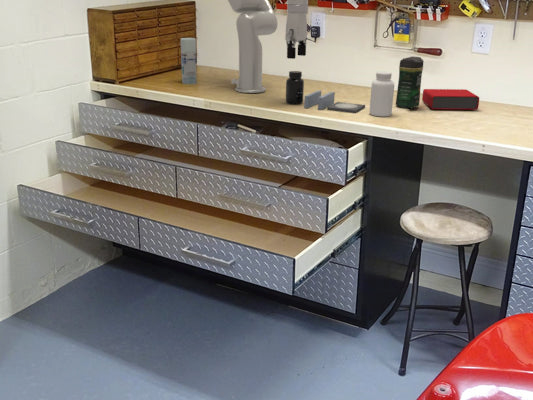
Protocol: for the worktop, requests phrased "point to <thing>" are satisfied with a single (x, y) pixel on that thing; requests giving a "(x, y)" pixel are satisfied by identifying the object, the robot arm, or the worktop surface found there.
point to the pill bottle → (382, 95)
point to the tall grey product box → (188, 60)
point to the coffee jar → (409, 82)
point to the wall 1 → (312, 99)
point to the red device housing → (450, 99)
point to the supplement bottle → (294, 88)
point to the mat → (346, 107)
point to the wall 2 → (326, 100)
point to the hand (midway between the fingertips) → (296, 56)
